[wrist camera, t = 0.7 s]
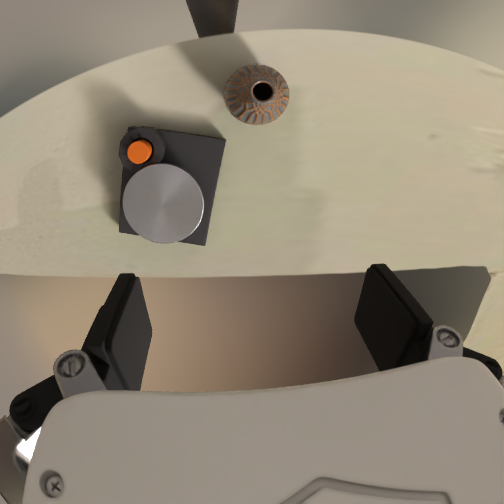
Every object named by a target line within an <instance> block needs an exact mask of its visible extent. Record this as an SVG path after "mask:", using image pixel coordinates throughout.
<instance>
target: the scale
mask: <svg viewBox="0 0 504 504" xmlns="http://www.w3.org/2000/svg"><path fill="white" fill-rule="evenodd" d="M138 140H146V141H147V142H149V143H150V145H151V147H152V154H151V156H150V157H149V158H148V159H147V160H146V161H144V162H143V163H140V164H136V163H133V162H132V161H130V159H129V158H128V155H127V151H128V148H129V146H130V145H131V144H132V143H133V142H135V141H138ZM225 143H226V139H221V138H216V137H210V136H204V135H198V134H191V133H185V132H177V131H170V130H162V129H155V128H153V127H144V126H142V127H134V126H131V127H128V132H127V133H126V135H125V136H124V138H123V139H122V140H121V142H120V147H119V157H120V159H121V162H122V164H123V174H122V185H121V199H120V218H119V232H121V233H127V234H133V235H139V234H138V233H136V232H135V231H134V230H133V229H132V227H131V226H130V225H129V223H128V221H127V219H126V217H125V214H124V210H123V194H124V190H125V188H126V185H127V183H128V182H129V180H130V179H131V178H132V176H133V175H134V174H135V173H137V172H138V171H139V170H141V169H142V168H144V167H146V166H148V165H151V164H156V163H169V164H174V165H177V166H179V167H181V168H183V169H185V170H186V171H188V172H189V173H190V174H191V175H192V176H193V177H194V178H195V179H196V181H197V182H198V184H199V185H200V188H201V190H202V193H203V197H204V211H203V215H202V218H201V221H200V223H199V225H198V226H197V228H196V229H195V230H194V231H193V232H192V233H191V234H190V235H189V236H187V237H186V238H184V239H182V240H180V241H177V242H183V243H189V244H196V245H202V246H205V245H206V239H207V233H208V228H209V222H210V217H211V211H212V206H213V201H214V196H215V191H216V186H217V181H218V176H219V171H220V166H221V161H222V156H223V152H224V147H225Z"/></svg>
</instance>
